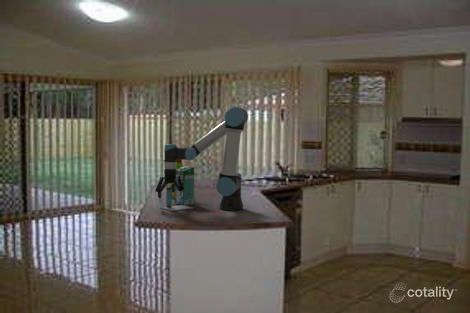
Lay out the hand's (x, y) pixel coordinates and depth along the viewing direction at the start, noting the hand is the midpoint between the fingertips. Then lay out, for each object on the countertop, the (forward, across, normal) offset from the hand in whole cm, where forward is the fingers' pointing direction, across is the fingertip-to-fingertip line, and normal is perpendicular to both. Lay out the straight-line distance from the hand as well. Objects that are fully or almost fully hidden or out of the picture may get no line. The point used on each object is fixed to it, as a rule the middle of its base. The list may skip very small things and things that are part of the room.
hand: (169, 202), depth 320 cm
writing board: (+4, -4, +3) cm, 6 cm away
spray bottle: (+4, -29, -36) cm, 47 cm away
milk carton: (+4, -18, -10) cm, 21 cm away
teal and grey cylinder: (+3, 0, 0) cm, 3 cm away
